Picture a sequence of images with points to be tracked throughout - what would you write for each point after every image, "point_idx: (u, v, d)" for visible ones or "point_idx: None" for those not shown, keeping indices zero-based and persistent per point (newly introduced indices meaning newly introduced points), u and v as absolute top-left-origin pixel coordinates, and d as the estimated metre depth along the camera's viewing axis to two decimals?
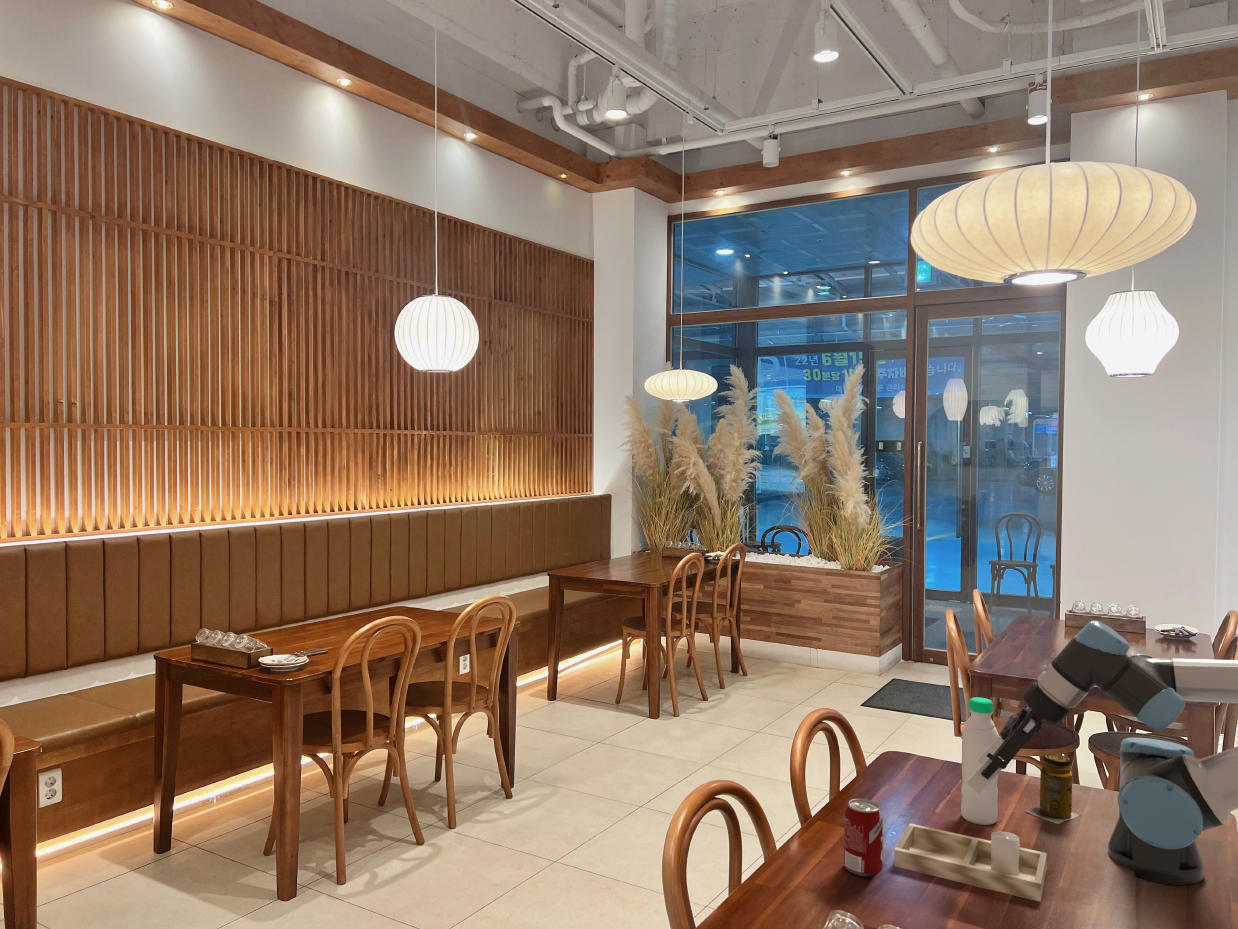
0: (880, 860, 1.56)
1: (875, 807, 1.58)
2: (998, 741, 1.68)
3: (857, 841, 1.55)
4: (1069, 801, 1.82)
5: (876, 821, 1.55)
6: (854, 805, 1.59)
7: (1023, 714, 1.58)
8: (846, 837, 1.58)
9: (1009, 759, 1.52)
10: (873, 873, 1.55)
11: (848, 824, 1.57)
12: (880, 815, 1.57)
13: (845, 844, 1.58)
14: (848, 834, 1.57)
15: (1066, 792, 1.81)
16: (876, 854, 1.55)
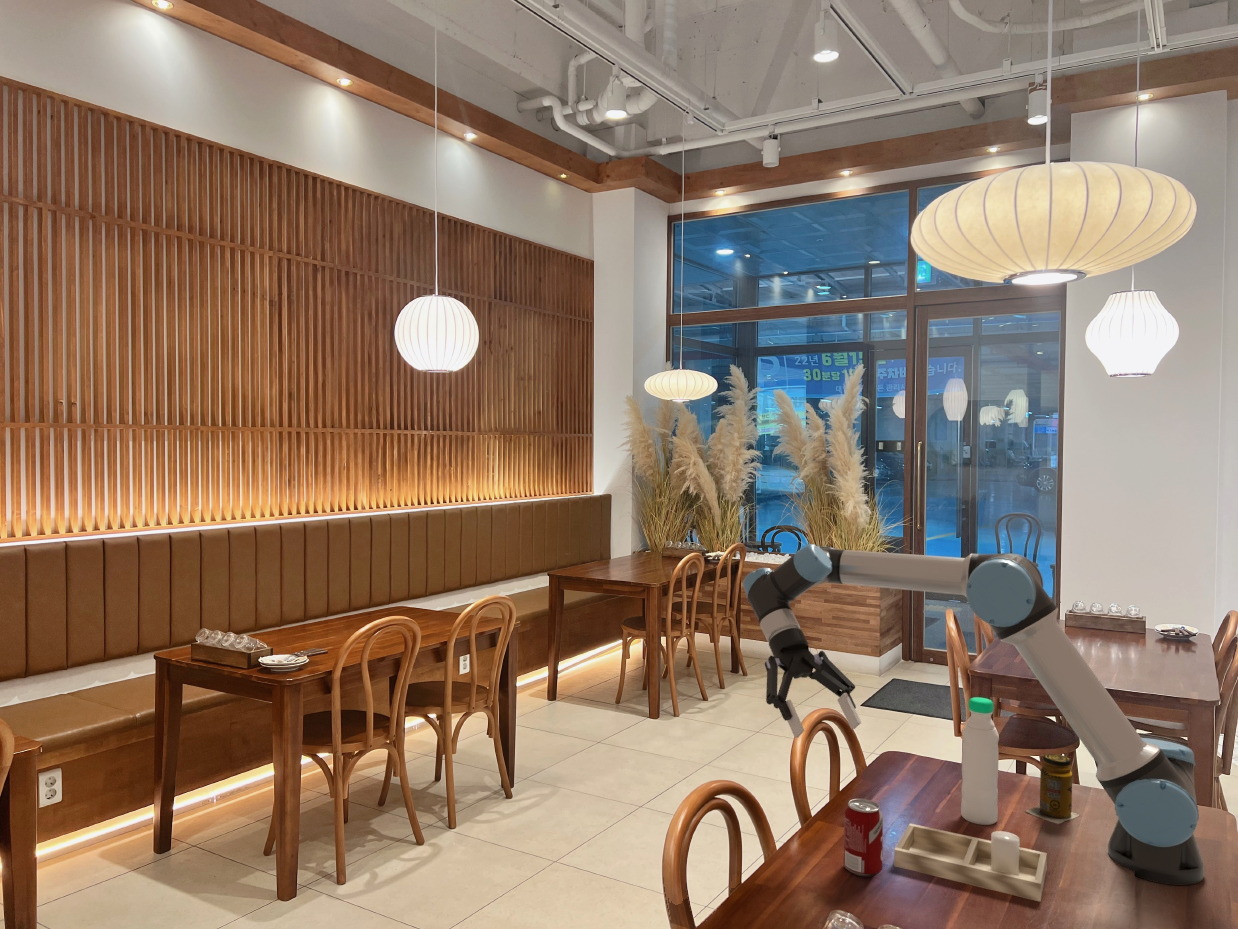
0: (880, 860, 1.56)
1: (875, 807, 1.58)
2: (840, 702, 1.74)
3: (857, 841, 1.55)
4: (1069, 801, 1.82)
5: (876, 821, 1.55)
6: (854, 805, 1.59)
7: None
8: (846, 837, 1.58)
9: (770, 689, 1.69)
10: (873, 873, 1.55)
11: (848, 824, 1.57)
12: (880, 815, 1.57)
13: (845, 844, 1.58)
14: (848, 834, 1.57)
15: (1066, 792, 1.81)
16: (876, 854, 1.55)
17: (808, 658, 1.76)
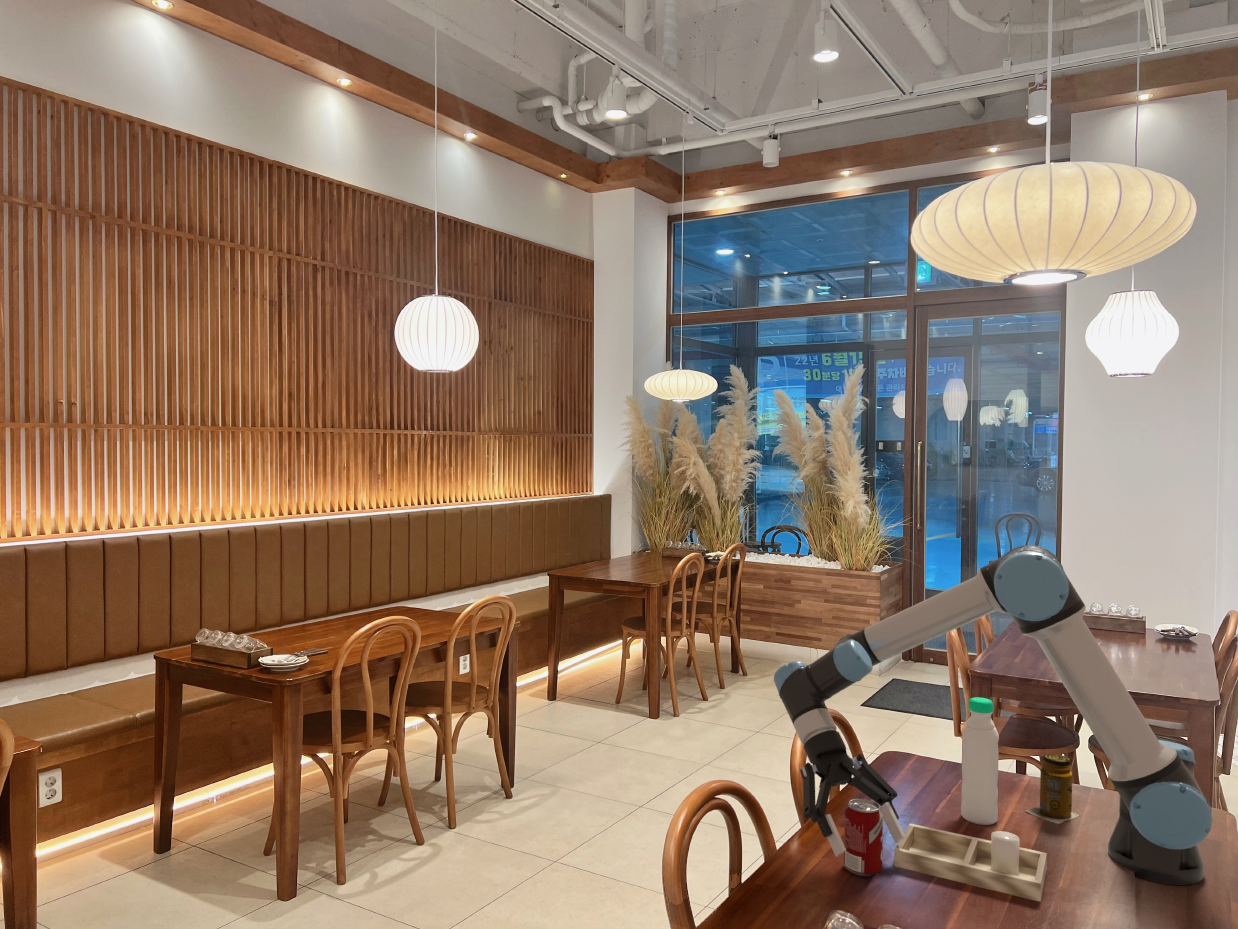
0: (880, 860, 1.56)
1: (875, 807, 1.58)
2: (881, 811, 1.63)
3: (857, 841, 1.55)
4: (1069, 801, 1.82)
5: (876, 821, 1.55)
6: (854, 805, 1.59)
7: None
8: (846, 837, 1.58)
9: (808, 802, 1.58)
10: (873, 873, 1.55)
11: (848, 824, 1.57)
12: (880, 815, 1.57)
13: (845, 844, 1.58)
14: (848, 834, 1.57)
15: (1066, 792, 1.81)
16: (876, 854, 1.55)
17: (846, 764, 1.65)
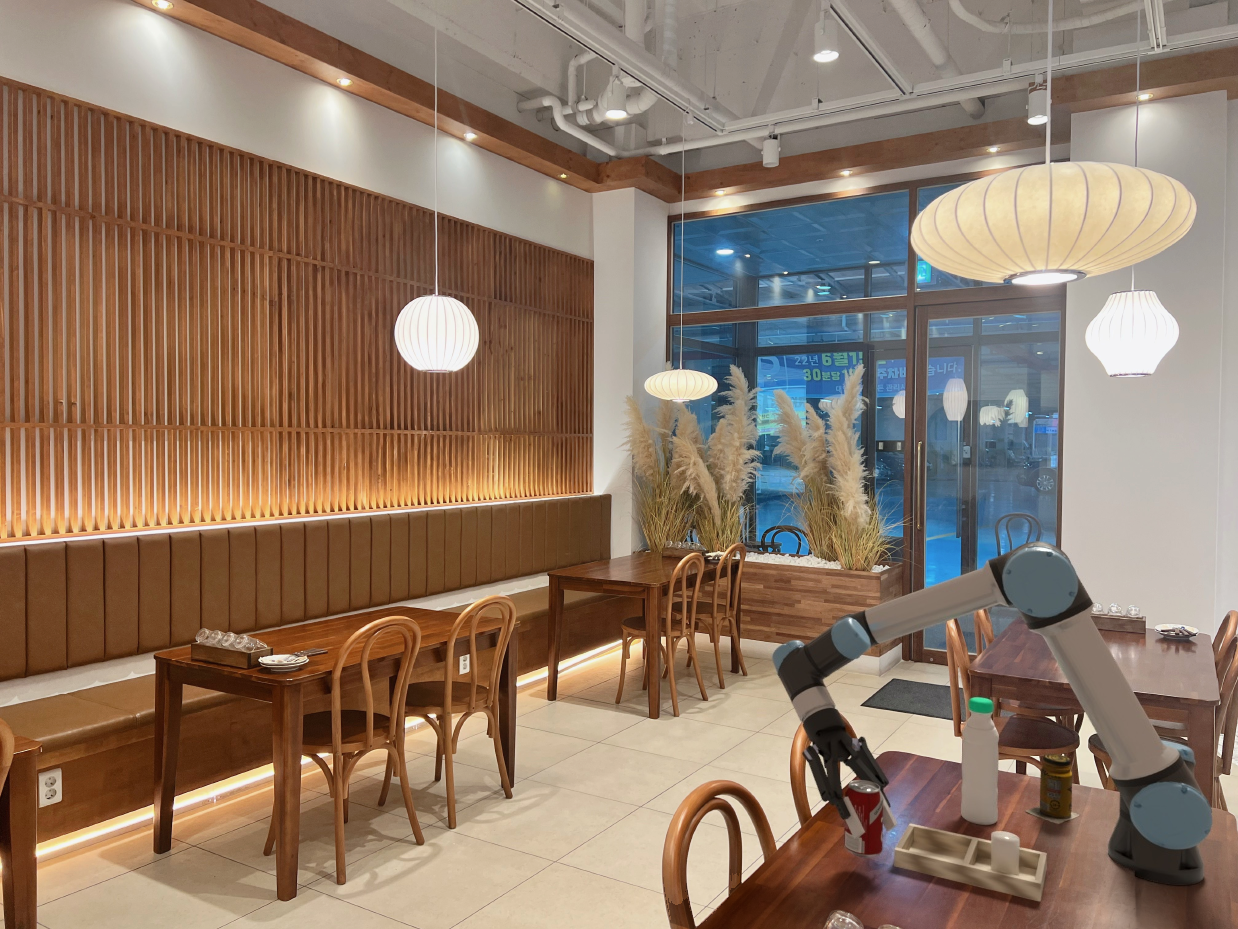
0: (880, 841, 1.56)
1: (876, 788, 1.58)
2: None
3: None
4: (1069, 801, 1.82)
5: (876, 801, 1.55)
6: (854, 786, 1.59)
7: None
8: None
9: (824, 785, 1.57)
10: (873, 854, 1.55)
11: None
12: (881, 796, 1.56)
13: (845, 825, 1.58)
14: None
15: (1066, 792, 1.81)
16: (877, 835, 1.55)
17: (845, 741, 1.65)
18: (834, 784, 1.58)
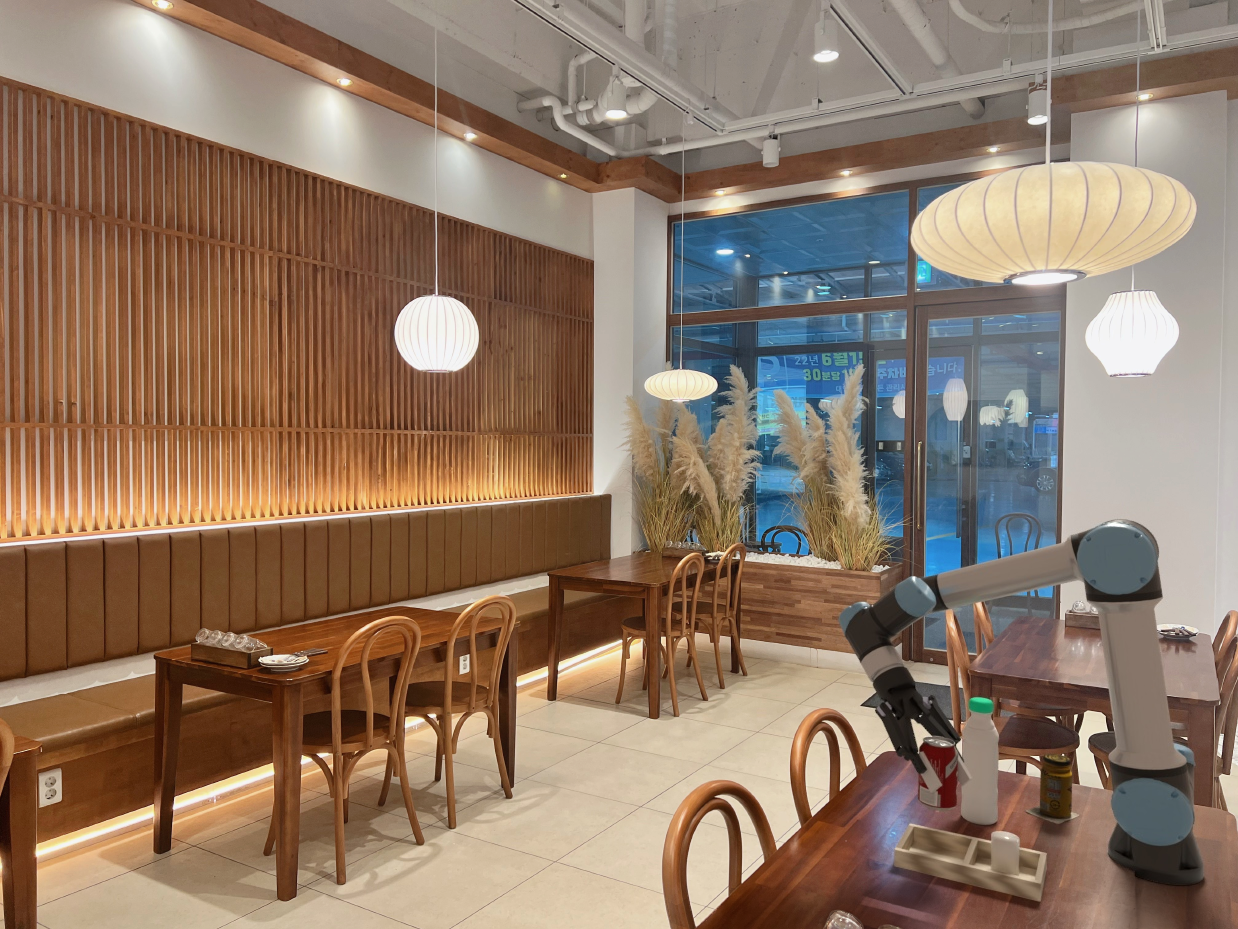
0: (955, 795, 1.58)
1: (950, 743, 1.60)
2: None
3: None
4: (1069, 801, 1.82)
5: (952, 755, 1.57)
6: (929, 741, 1.60)
7: None
8: None
9: (899, 741, 1.59)
10: (949, 807, 1.57)
11: None
12: (955, 750, 1.58)
13: (920, 779, 1.59)
14: None
15: (1066, 792, 1.81)
16: (952, 788, 1.57)
17: (917, 699, 1.66)
18: (909, 739, 1.60)
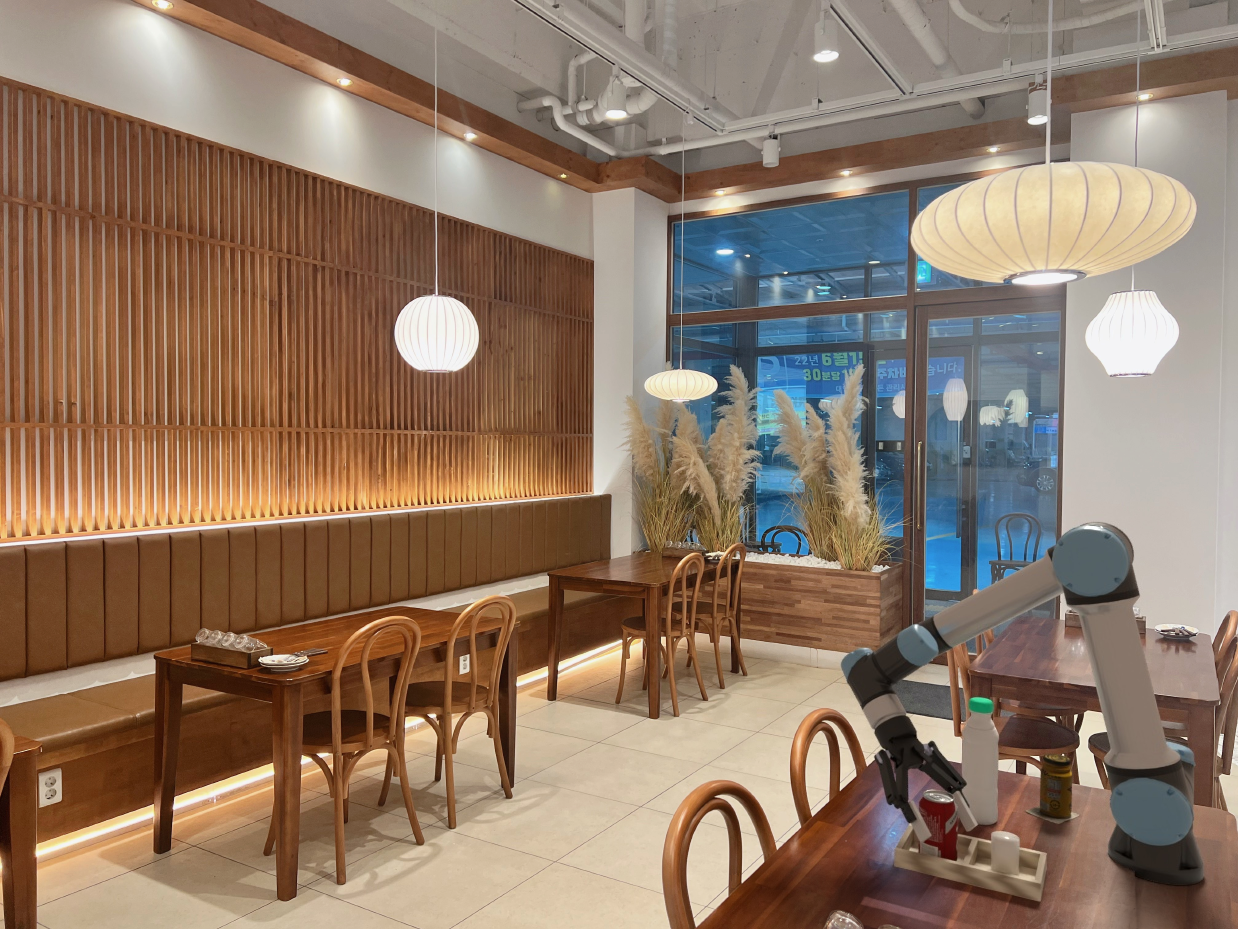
0: (956, 850, 1.58)
1: (950, 798, 1.60)
2: None
3: (933, 831, 1.57)
4: (1069, 801, 1.82)
5: (952, 811, 1.57)
6: (928, 796, 1.61)
7: None
8: None
9: (890, 789, 1.59)
10: None
11: (924, 814, 1.59)
12: (955, 805, 1.59)
13: None
14: None
15: (1066, 792, 1.81)
16: (952, 844, 1.57)
17: (918, 748, 1.67)
18: (901, 788, 1.60)
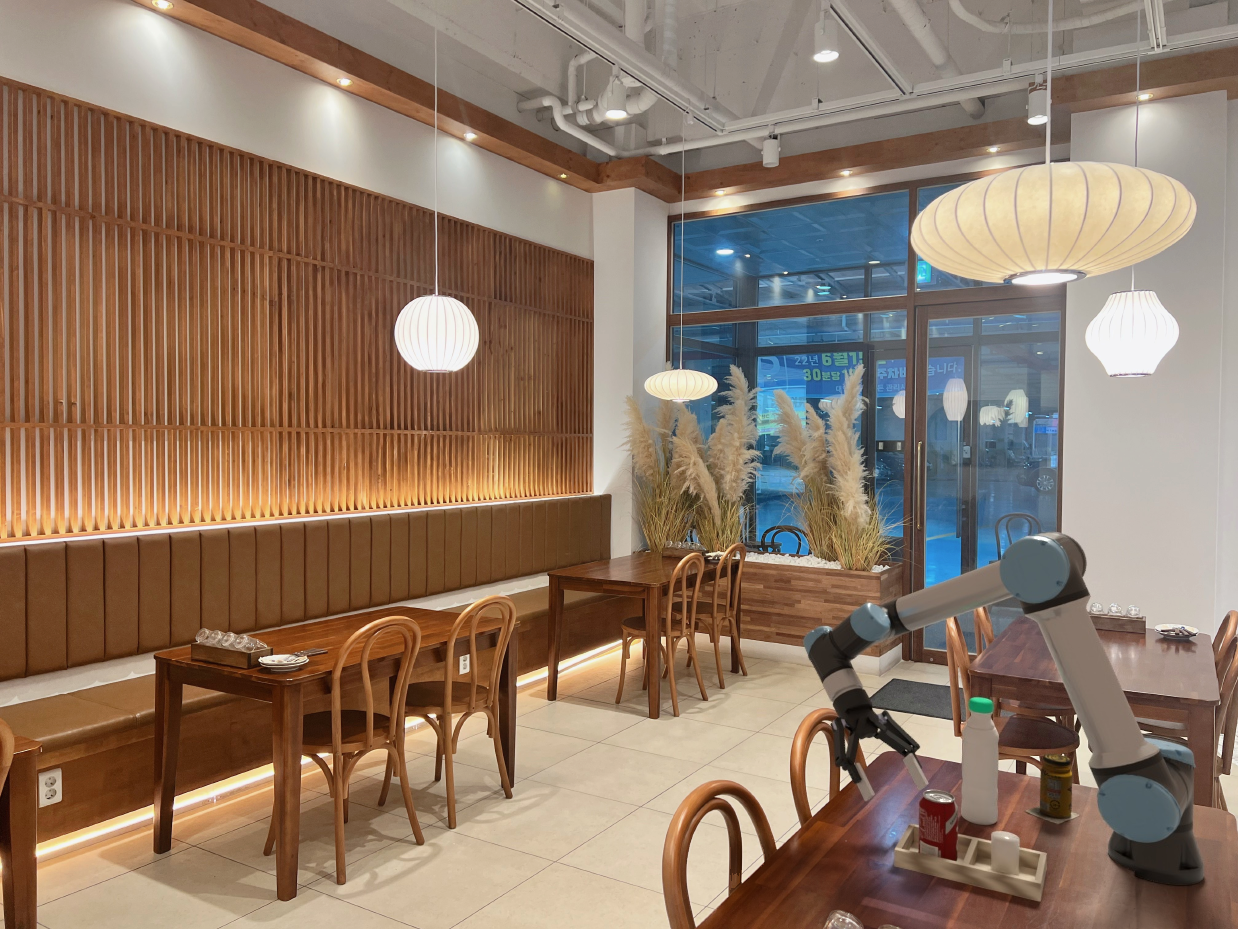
0: (956, 850, 1.58)
1: (950, 798, 1.60)
2: (905, 762, 1.77)
3: (933, 831, 1.57)
4: (1069, 801, 1.82)
5: (952, 811, 1.57)
6: (929, 796, 1.61)
7: None
8: (921, 828, 1.59)
9: (839, 752, 1.71)
10: None
11: (924, 815, 1.59)
12: (955, 806, 1.59)
13: (920, 834, 1.60)
14: (923, 824, 1.59)
15: (1066, 792, 1.81)
16: (952, 844, 1.57)
17: (873, 719, 1.78)
18: (850, 751, 1.72)
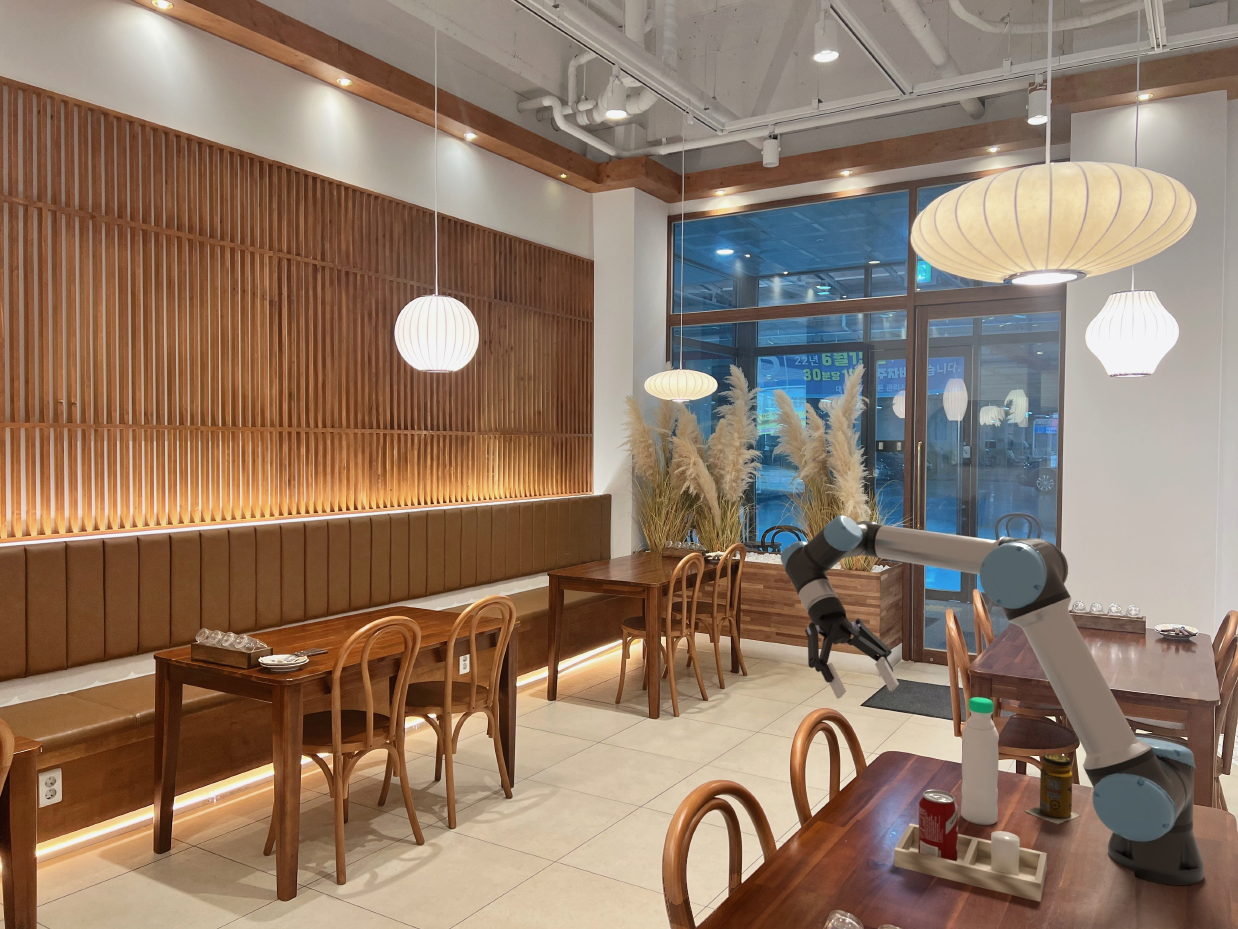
0: (956, 850, 1.58)
1: (950, 798, 1.60)
2: (877, 666, 1.83)
3: (933, 831, 1.57)
4: (1069, 801, 1.82)
5: (952, 811, 1.57)
6: (929, 796, 1.61)
7: None
8: (921, 828, 1.59)
9: (812, 653, 1.77)
10: None
11: (924, 814, 1.59)
12: (955, 805, 1.59)
13: (920, 834, 1.60)
14: (923, 824, 1.59)
15: (1066, 792, 1.81)
16: (953, 844, 1.57)
17: (846, 625, 1.85)
18: (823, 653, 1.78)
